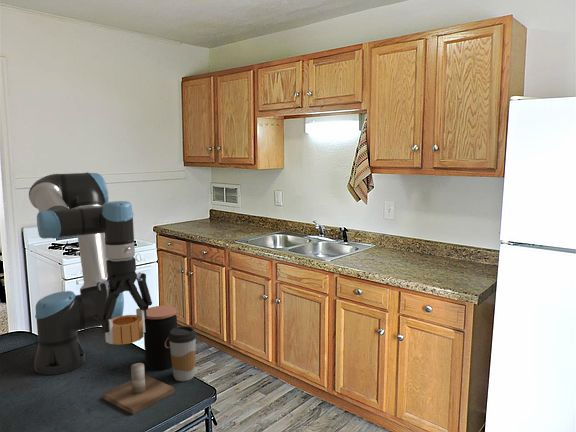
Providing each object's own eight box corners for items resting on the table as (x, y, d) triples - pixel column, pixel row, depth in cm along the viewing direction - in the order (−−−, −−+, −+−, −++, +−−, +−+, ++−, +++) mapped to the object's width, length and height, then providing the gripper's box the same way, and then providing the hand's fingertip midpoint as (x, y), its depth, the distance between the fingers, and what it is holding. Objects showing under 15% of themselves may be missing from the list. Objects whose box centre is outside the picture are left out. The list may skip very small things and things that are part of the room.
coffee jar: (170, 372, 146) (167, 317, 143) (139, 369, 148) (136, 315, 145) (184, 357, 156) (182, 306, 154) (155, 354, 158) (152, 304, 156)
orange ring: (101, 339, 128) (100, 322, 127) (131, 329, 135) (129, 312, 134) (120, 347, 122) (119, 329, 121) (149, 336, 129) (148, 319, 129)
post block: (103, 398, 130) (101, 368, 129) (144, 378, 142) (142, 351, 140) (133, 414, 122) (131, 383, 121) (174, 392, 133) (173, 363, 132)
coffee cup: (186, 367, 149) (184, 323, 146) (203, 375, 143) (201, 329, 141) (164, 377, 142) (162, 331, 140) (181, 386, 137) (179, 338, 135)
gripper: (89, 267, 115) (96, 353, 118) (162, 252, 132) (166, 328, 135) (74, 264, 119) (81, 346, 122) (146, 249, 136) (151, 322, 139)
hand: (126, 336), depth 128 cm, fingers closed on orange ring, 9 cm apart
